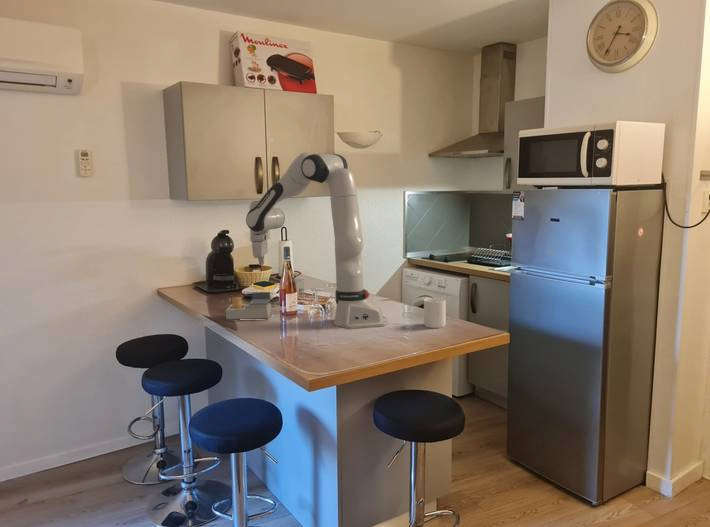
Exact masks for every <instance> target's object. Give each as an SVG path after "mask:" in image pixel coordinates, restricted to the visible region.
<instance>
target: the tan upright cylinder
mask: <svg viewBox="0 0 710 527" xmlns="http://www.w3.org/2000/svg"><path fill="white" fill-rule="evenodd" d="M231 300H232V301H231V302H232V304H233V308H242V304H243V302H242V297H241V296H237V297H232V298H231Z"/></svg>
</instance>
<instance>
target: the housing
mask: <svg viewBox="0 0 710 527" xmlns="http://www.w3.org/2000/svg"><path fill="white" fill-rule="evenodd" d="M270 314H271V315H272V304H271V303H270V302H269V303H268V304H267V305H249V303H242V308H233V303H232V304H230V305H229V306H228V307H227V308H226V310H225V315H226V316H225V317H226V319H225V321H226V320H240V319H268V318H269V319H270V317H271V316H270ZM269 316H270V317H269ZM269 319H268V320H269Z"/></svg>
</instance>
